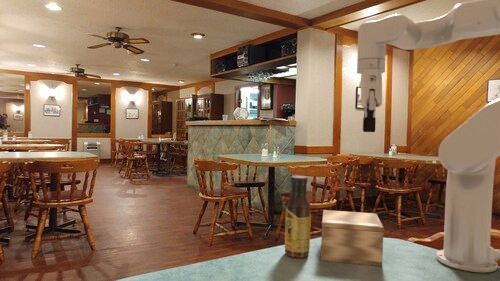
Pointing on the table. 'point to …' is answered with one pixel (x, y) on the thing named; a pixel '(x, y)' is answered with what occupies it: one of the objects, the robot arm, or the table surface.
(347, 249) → the box
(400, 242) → the table surface
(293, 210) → the sauce bottle
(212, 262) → the table surface
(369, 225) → the lid
